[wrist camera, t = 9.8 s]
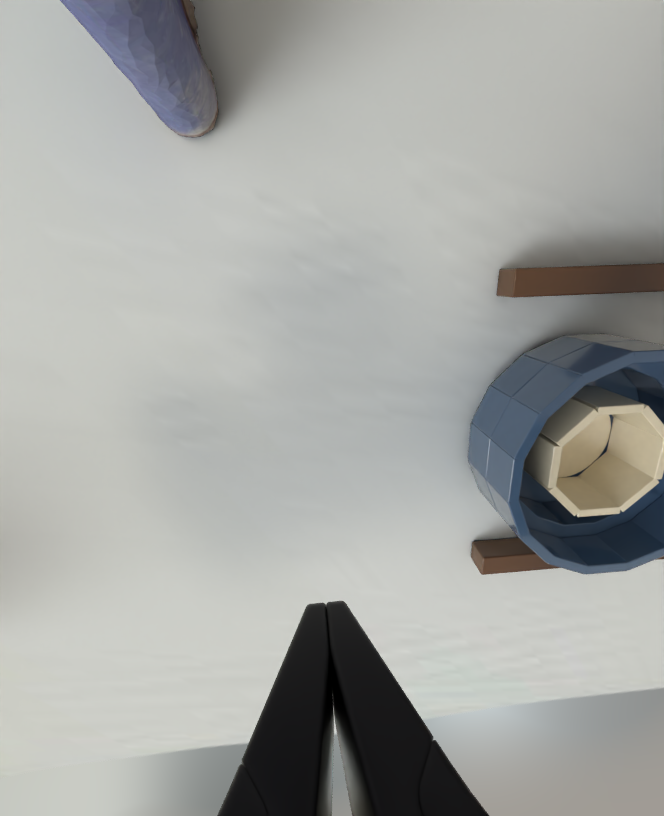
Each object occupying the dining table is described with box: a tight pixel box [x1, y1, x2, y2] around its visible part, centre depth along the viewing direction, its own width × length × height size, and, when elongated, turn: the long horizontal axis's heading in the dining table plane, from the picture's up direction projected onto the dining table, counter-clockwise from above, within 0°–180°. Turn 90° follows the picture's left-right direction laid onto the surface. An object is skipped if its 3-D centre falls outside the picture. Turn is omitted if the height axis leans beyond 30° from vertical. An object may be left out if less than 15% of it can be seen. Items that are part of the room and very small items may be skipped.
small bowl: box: [523, 386, 664, 517], centre depth 19 cm, size 6×6×3 cm
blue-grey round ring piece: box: [468, 334, 664, 574], centre depth 19 cm, size 11×11×5 cm
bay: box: [471, 263, 664, 575], centre depth 21 cm, size 12×16×2 cm
